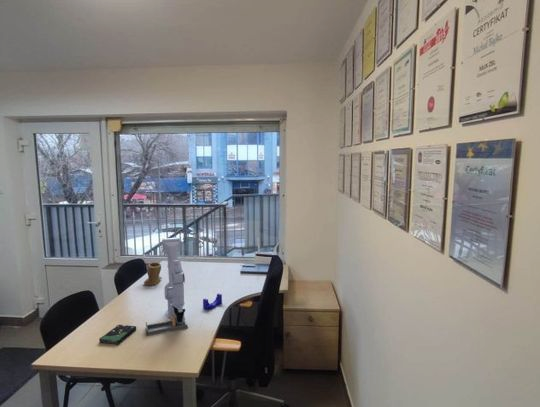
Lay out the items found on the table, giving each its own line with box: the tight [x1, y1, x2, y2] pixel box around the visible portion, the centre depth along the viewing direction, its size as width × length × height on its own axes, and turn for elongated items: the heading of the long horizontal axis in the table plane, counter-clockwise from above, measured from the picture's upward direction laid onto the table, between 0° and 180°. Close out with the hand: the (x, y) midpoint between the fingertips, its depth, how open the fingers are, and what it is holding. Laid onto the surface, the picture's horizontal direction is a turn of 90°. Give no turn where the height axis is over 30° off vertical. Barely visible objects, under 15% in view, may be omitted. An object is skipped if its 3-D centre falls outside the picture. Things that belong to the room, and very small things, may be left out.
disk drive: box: [98, 324, 137, 346], centre depth 157 cm, size 10×3×15 cm
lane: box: [144, 320, 189, 337], centre depth 166 cm, size 8×21×3 cm, turn 114°
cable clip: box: [202, 293, 223, 311], centre depth 193 cm, size 12×4×6 cm, turn 138°
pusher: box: [171, 314, 175, 326], centre depth 167 cm, size 6×1×5 cm, turn 24°
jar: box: [174, 312, 186, 326], centre depth 168 cm, size 5×5×7 cm
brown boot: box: [143, 261, 163, 286], centre depth 234 cm, size 15×12×15 cm
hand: (179, 319), depth 168 cm, fingers closed on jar, 5 cm apart
